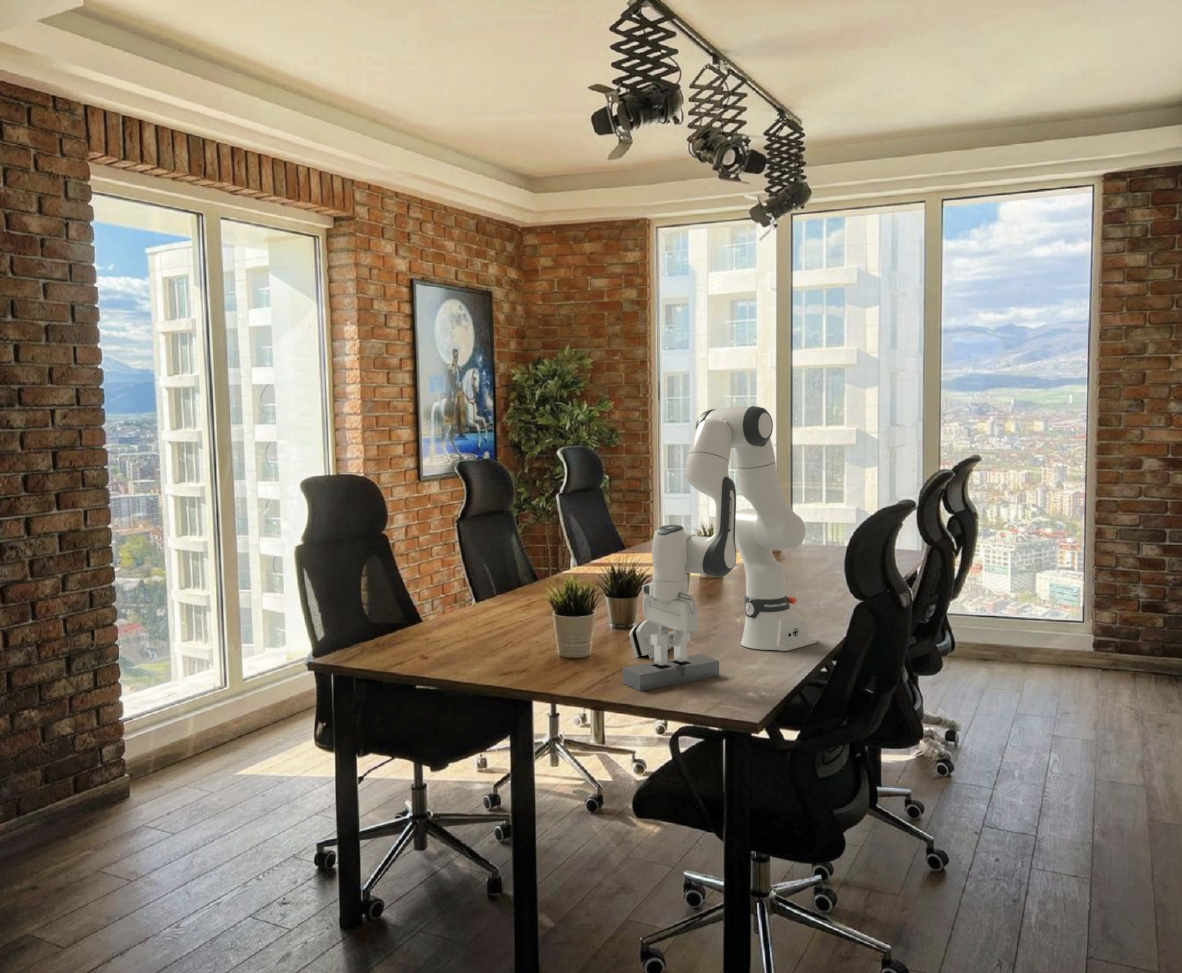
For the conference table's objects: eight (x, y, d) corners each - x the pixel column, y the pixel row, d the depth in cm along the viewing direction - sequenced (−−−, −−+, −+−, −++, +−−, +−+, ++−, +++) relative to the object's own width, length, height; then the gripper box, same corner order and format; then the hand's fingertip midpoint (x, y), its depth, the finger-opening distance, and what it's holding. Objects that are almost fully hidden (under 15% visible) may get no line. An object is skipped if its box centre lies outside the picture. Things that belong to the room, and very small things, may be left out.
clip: (683, 657, 251) (683, 629, 251) (690, 660, 249) (690, 631, 248) (651, 663, 247) (650, 634, 246) (657, 666, 244) (657, 636, 243)
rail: (700, 669, 257) (700, 654, 257) (719, 676, 250) (719, 660, 250) (623, 683, 246) (622, 667, 245) (640, 691, 239) (639, 675, 238)
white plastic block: (651, 659, 268) (639, 624, 269) (636, 663, 271) (624, 629, 272) (675, 645, 283) (663, 612, 284) (661, 649, 285) (650, 617, 286)
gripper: (704, 595, 239) (705, 650, 240) (658, 583, 257) (659, 634, 258) (683, 597, 236) (684, 654, 237) (638, 585, 253) (639, 638, 255)
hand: (670, 644), depth 247 cm, fingers closed on clip, 3 cm apart
